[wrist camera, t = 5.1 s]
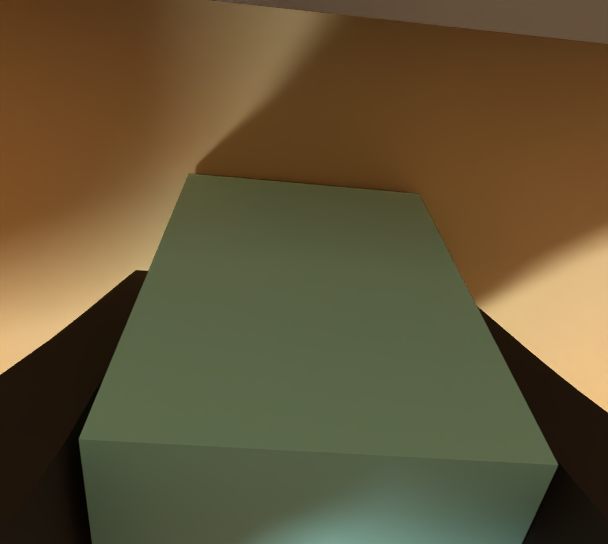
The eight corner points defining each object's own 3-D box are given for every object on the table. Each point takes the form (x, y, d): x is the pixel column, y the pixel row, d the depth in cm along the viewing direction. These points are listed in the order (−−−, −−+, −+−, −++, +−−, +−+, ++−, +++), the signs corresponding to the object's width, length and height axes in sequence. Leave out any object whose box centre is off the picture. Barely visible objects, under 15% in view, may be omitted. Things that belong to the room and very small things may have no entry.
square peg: (188, 358, 12) (110, 688, 7) (188, 173, 10) (78, 439, 5) (380, 370, 12) (450, 696, 7) (419, 193, 10) (558, 464, 5)
